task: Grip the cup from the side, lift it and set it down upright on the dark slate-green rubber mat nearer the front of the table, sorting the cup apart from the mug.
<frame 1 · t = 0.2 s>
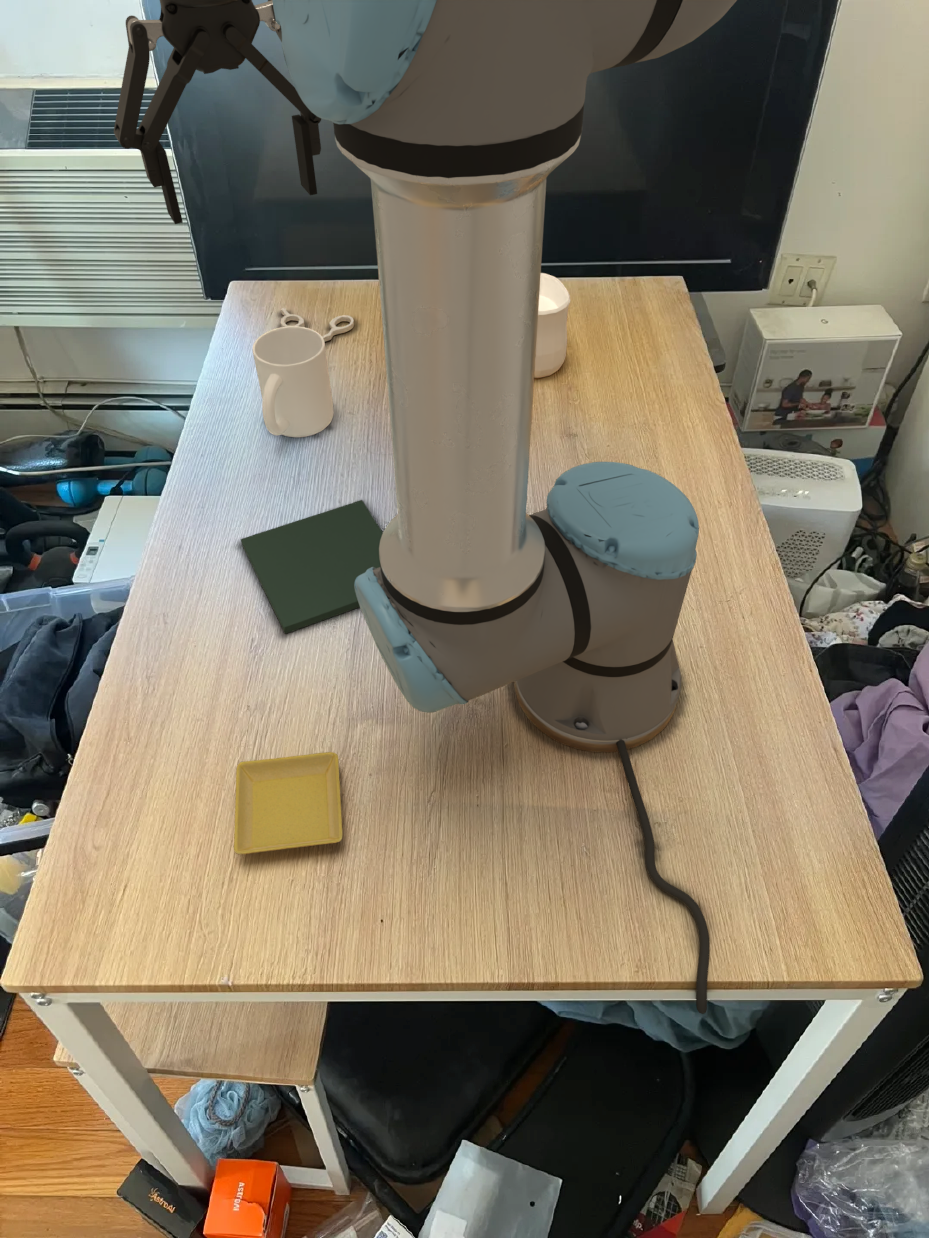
hand: (243, 203, 90), 28 cm above the table, tool pointing down, fingers open, 13 cm apart
cup: (530, 360, 121), on the table
saucer: (291, 813, 77), on the table
cup mat: (326, 566, 96), on the table
mug: (294, 429, 112), on the table
scissors: (307, 354, 122), on the table
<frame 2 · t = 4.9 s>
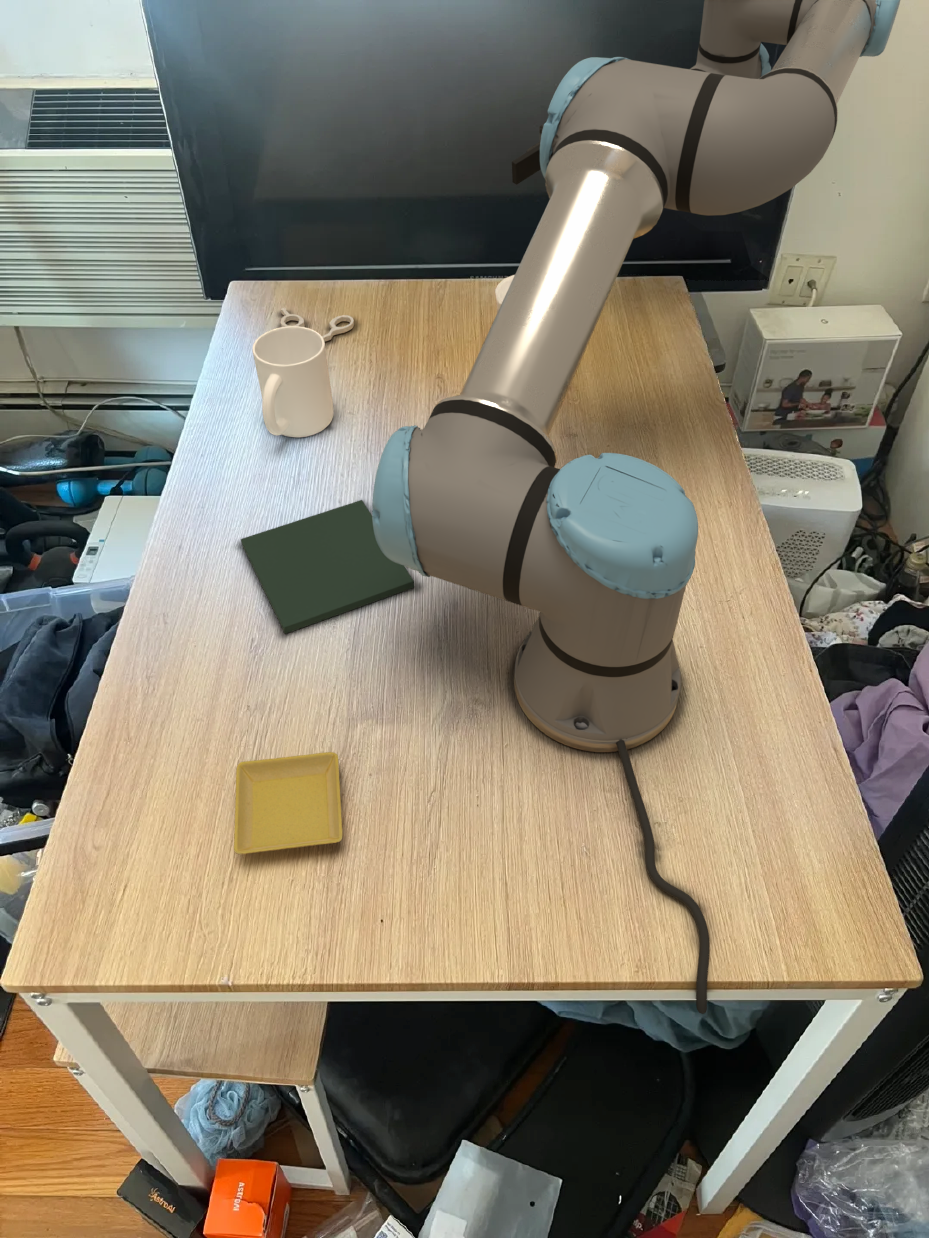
hand: (553, 196, 109), 20 cm above the table, tool horizontal, fingers open, 13 cm apart
nothing on the table moved.
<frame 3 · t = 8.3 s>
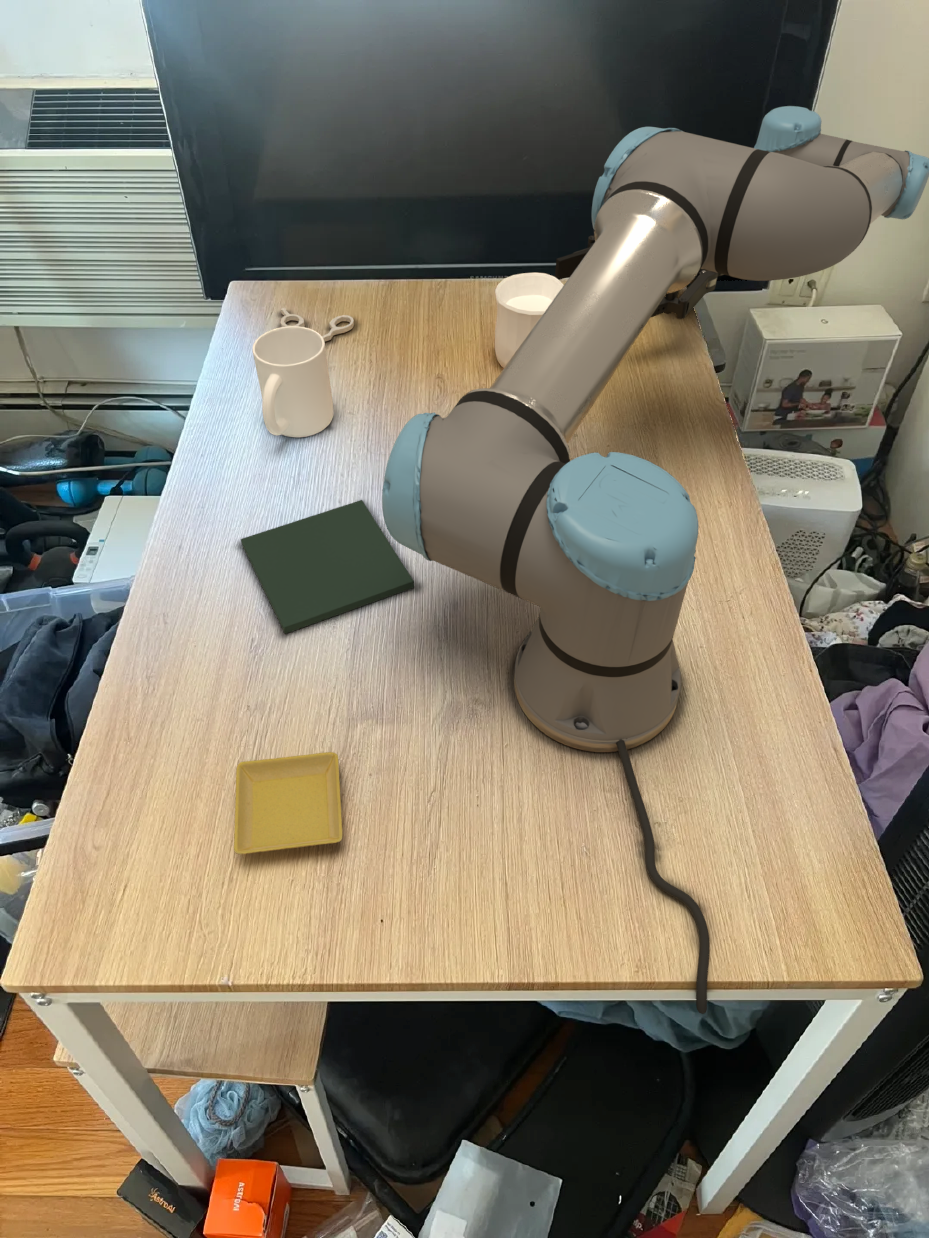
hand: (587, 292, 119), 7 cm above the table, tool horizontal, fingers open, 13 cm apart
nothing on the table moved.
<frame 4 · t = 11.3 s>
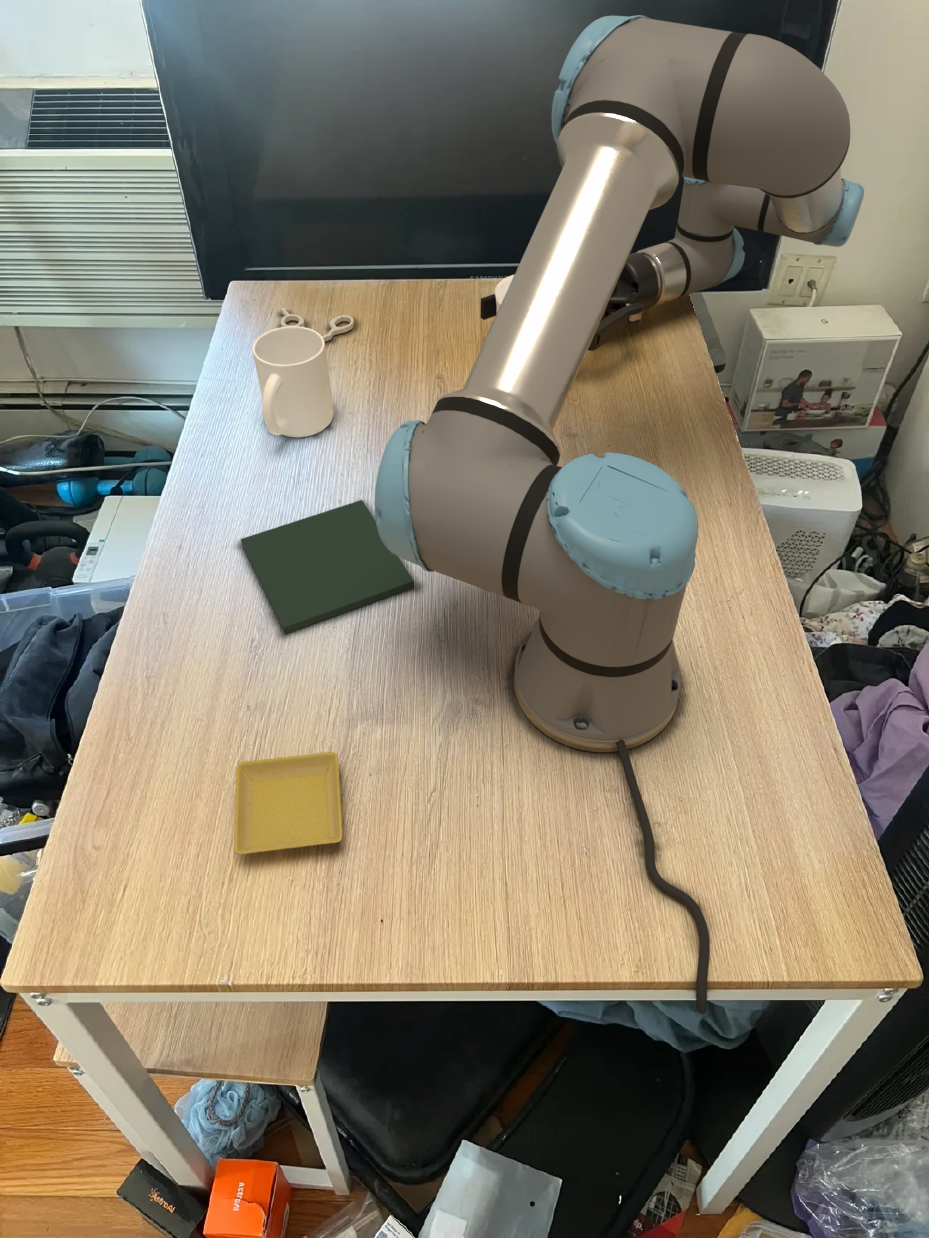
hand: (504, 328, 115), 6 cm above the table, tool horizontal, fingers closed on cup, 10 cm apart
cup: (529, 360, 121), on the table, touching gripper
everything else where it was.
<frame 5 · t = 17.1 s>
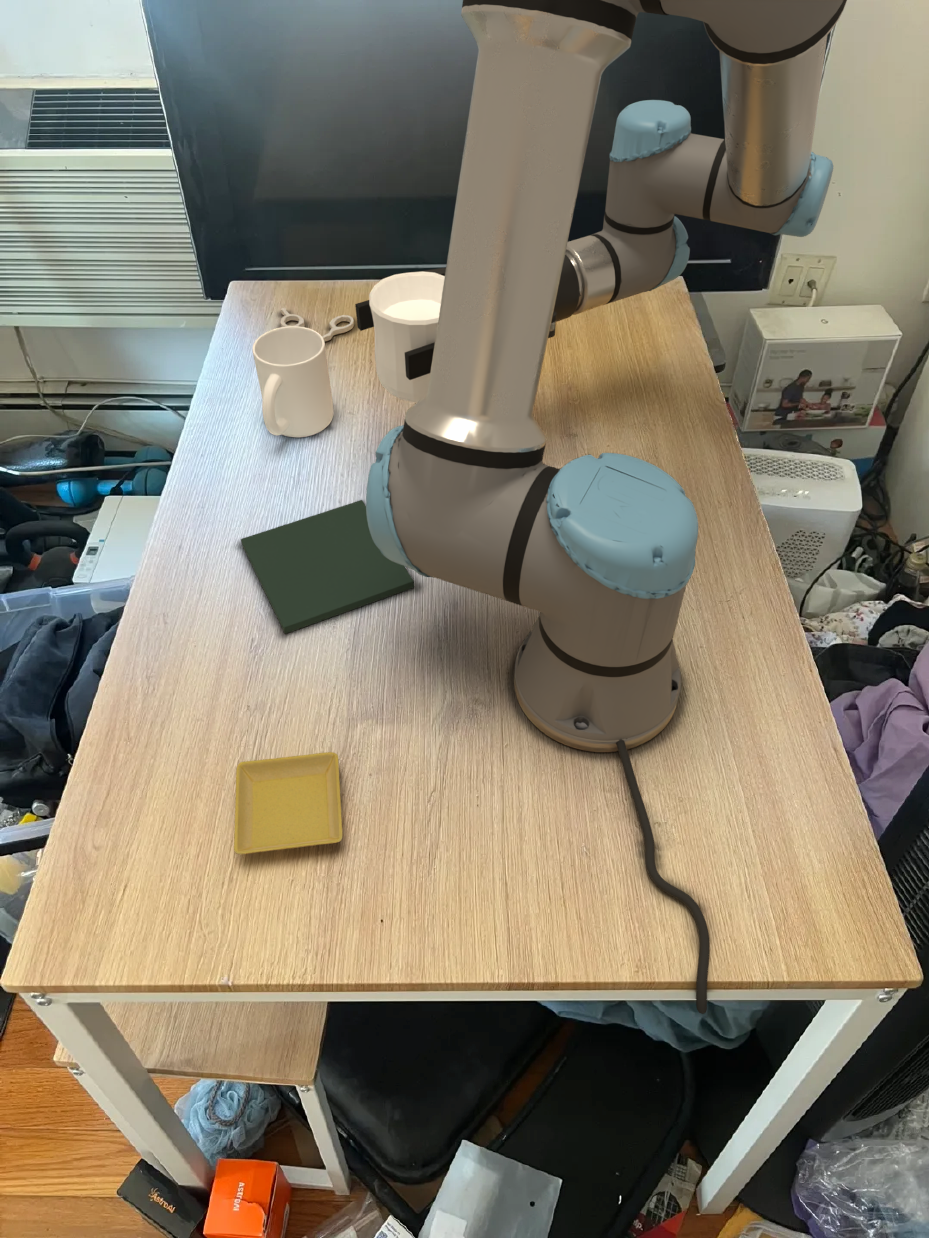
hand: (381, 341, 92), 18 cm above the table, tool horizontal, fingers closed on cup, 10 cm apart
cup: (421, 380, 98), point 12 cm above the table, touching gripper
everything else where it was.
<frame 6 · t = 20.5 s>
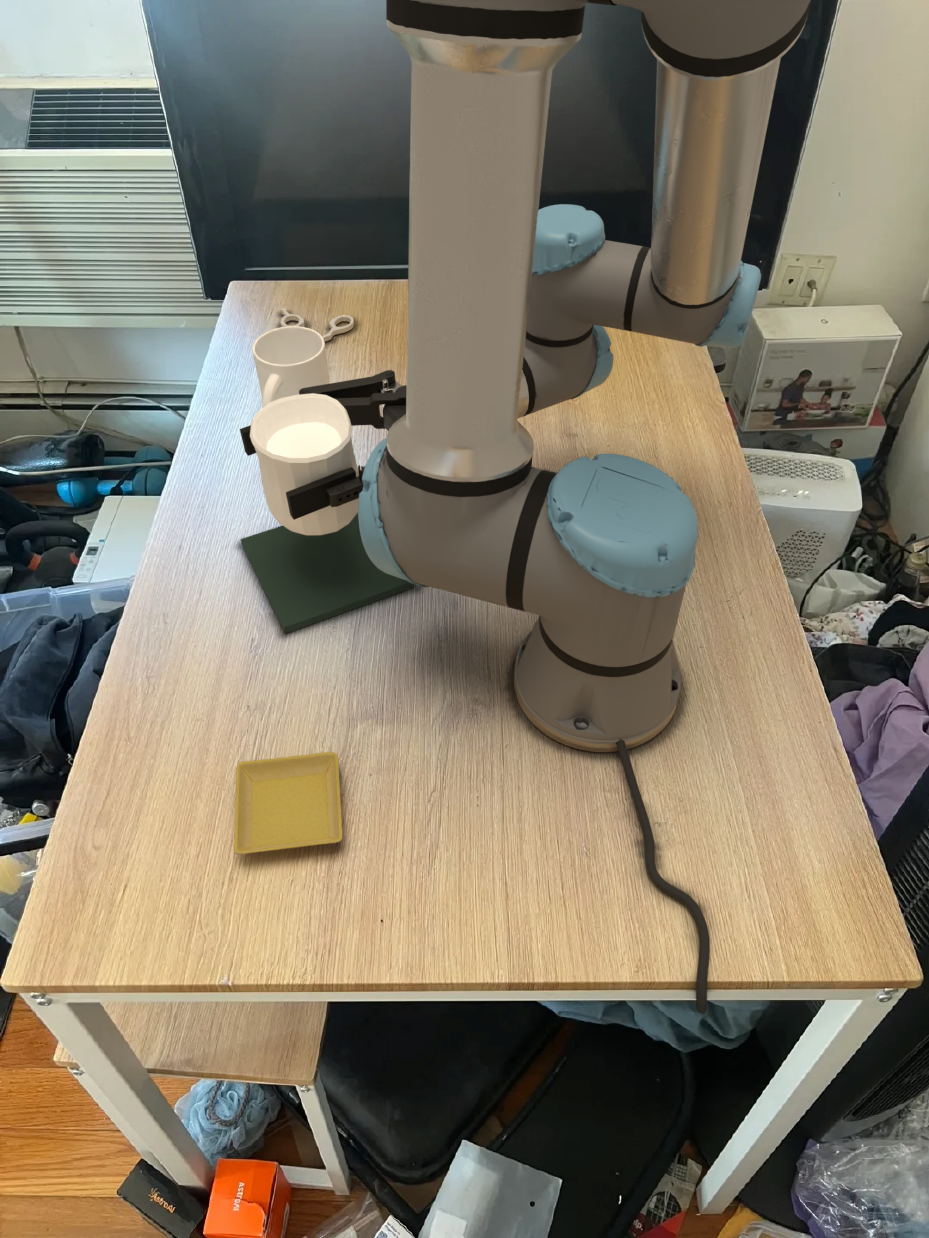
hand: (266, 473, 84), 14 cm above the table, tool horizontal, fingers closed on cup, 10 cm apart
cup: (317, 506, 90), point 8 cm above the table, touching gripper
everything else where it was.
when the fingers open (7 cm above the table, at t = 23.1 s): cup stays where it is, resting on cup mat.
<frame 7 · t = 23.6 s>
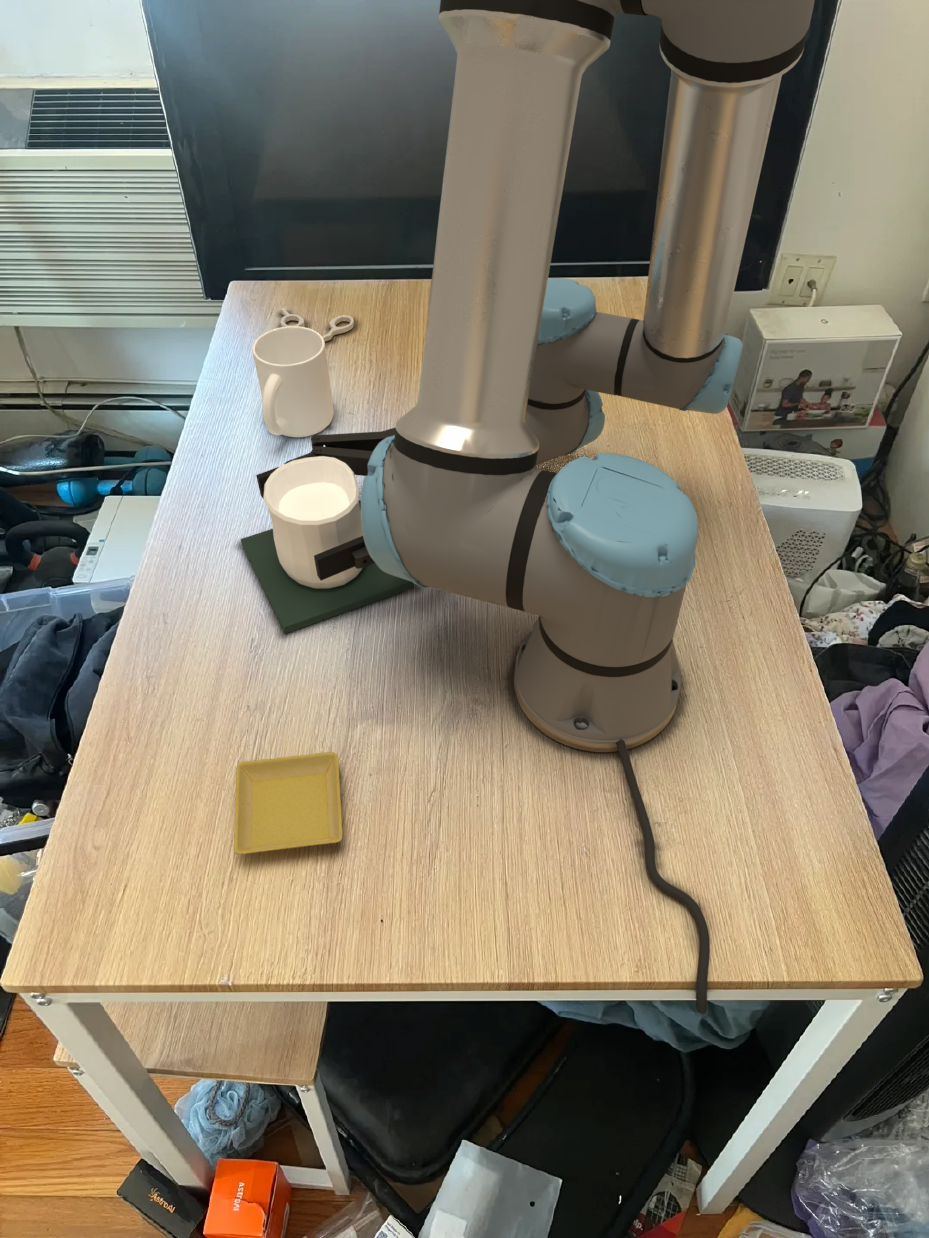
hand: (286, 526, 89), 7 cm above the table, tool horizontal, fingers open, 13 cm apart
cup: (325, 559, 95), point 1 cm above the table, touching cup mat
everything else where it was.
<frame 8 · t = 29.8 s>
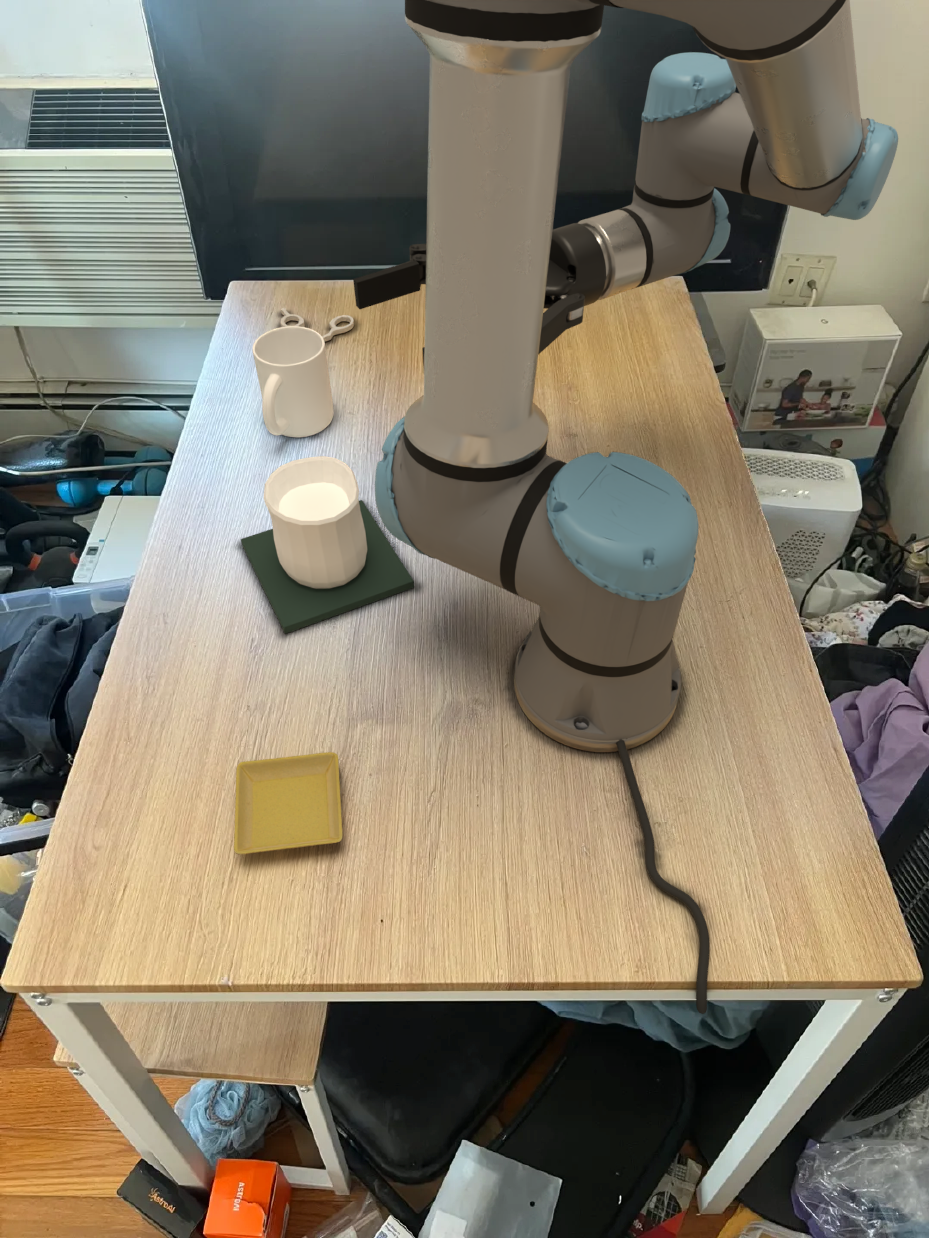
hand: (388, 327, 81), 25 cm above the table, tool horizontal, fingers open, 12 cm apart
nothing on the table moved.
at the end: cup inside the target area on the cup mat (0.2 cm from its centre), point 0.8 cm above the cup mat's base; cup tilted 0°; mug moved 0.2 cm from its start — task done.
